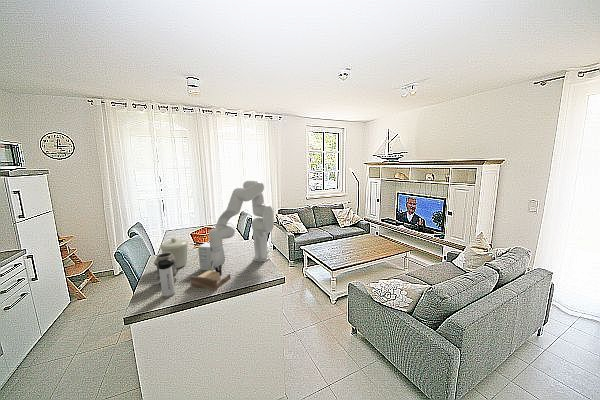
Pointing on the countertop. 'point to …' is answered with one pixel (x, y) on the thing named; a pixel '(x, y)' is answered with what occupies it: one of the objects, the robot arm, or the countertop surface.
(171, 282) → the travel mug
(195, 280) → the stand
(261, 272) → the countertop surface
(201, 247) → the supplement box
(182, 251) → the canister
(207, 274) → the kraft carton
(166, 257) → the apothecary jar
